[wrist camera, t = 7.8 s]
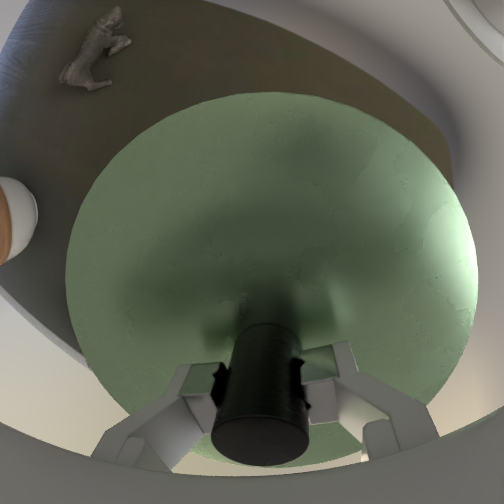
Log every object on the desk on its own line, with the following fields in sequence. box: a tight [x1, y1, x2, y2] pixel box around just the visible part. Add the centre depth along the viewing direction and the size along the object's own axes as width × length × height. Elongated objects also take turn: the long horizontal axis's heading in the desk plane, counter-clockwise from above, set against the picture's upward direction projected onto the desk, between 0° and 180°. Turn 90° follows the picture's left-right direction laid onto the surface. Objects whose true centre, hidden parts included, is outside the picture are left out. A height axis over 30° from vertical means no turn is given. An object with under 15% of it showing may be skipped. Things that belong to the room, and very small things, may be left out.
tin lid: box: [65, 92, 478, 468], centre depth 8 cm, size 17×17×5 cm
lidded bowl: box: [0, 177, 38, 265], centre depth 29 cm, size 13×13×11 cm
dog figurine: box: [58, 6, 132, 91], centre depth 23 cm, size 12×6×8 cm, turn 150°
